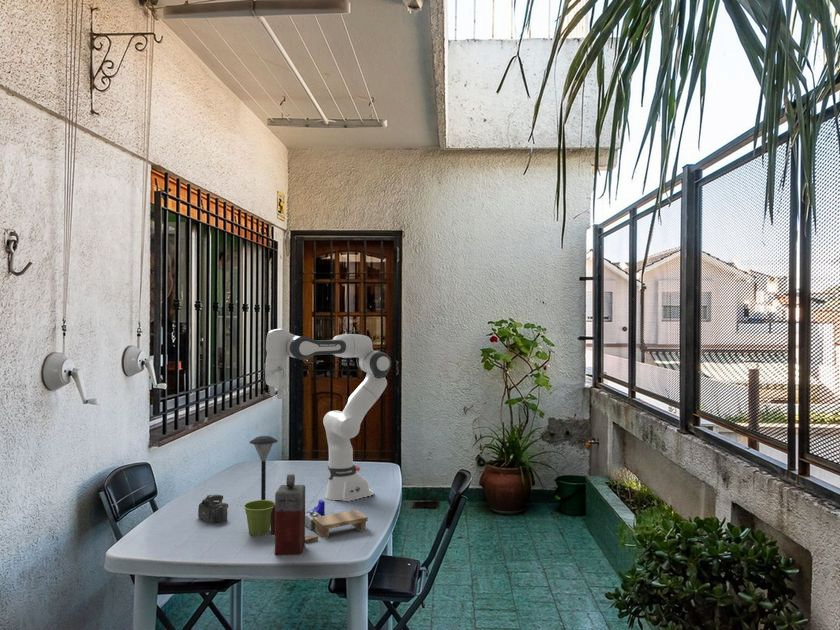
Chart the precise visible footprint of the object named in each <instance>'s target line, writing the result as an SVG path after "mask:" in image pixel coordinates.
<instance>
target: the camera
mask: <svg viewBox="0 0 840 630" xmlns="http://www.w3.org/2000/svg"><path fill="white" fill-rule="evenodd" d="M223 500H224V495H222V494H207V495H206V497H205V498H204V499H202V501H201V502H200V503H199V504H198V510H197V511H198V512H197V517H198V518H199V519H200V520H202V521H205V522H207V523H211V524H221V523H224V522H227V521H228V514H229V513H228V508H229V503H226V502H223Z"/></svg>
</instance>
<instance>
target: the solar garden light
mask: <svg viewBox="0 0 840 630" xmlns="http://www.w3.org/2000/svg"><path fill="white" fill-rule="evenodd" d="M278 442H279V440H278V439H276V438H274V437H273V436H270V435H261V436H256V437H255V438H252V439H251V440H249V442H248V443H249V444H251V445H254V448H255V450H256V452H257V455H258V457H259V459H260V460H261V474H260V475H261V476H260V477H261V479H260V482H261V484H260V485H261V489H260V491H261V492H260V493H261V494H260V495H261V496H260V498H261V499H260V500H266V491H267V490H266V488H267V487H266V485H267V483H266V479H267V477H266V475H267V473H266V469H267V468H266V466H267V465H266V462H267V458H268V456H269V454H270V451H271V449H272V447H273V445H274V444H275V443H278Z"/></svg>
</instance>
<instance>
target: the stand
mask: <svg viewBox="0 0 840 630" xmlns="http://www.w3.org/2000/svg"><path fill="white" fill-rule="evenodd" d="M313 522H315V530H314V532H316V533H317V534H318V535H319V536H321V537H322V538H324V539H325V538H330V529H334V528H335V529H336V528H339V527H345V526H350V525H351V526H352V525H353V527H354V528H355V527H356V528H355V529H356V530H358V529H359V532H364V530H365V531H367V526H366V524H367V522H368V516H366V515H365V514H364V513H362V512H361V511H359V510H358V509H354V510H353V509H352V510H349V511H348V510H347V511H342V512H337V513H331V514H325V515H324V516H319V517H313Z"/></svg>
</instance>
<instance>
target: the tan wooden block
mask: <svg viewBox="0 0 840 630" xmlns="http://www.w3.org/2000/svg"><path fill="white" fill-rule="evenodd" d="M317 541H319V536H318V535H316V534H310V535H305V544H309V543H312V542H317Z"/></svg>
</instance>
